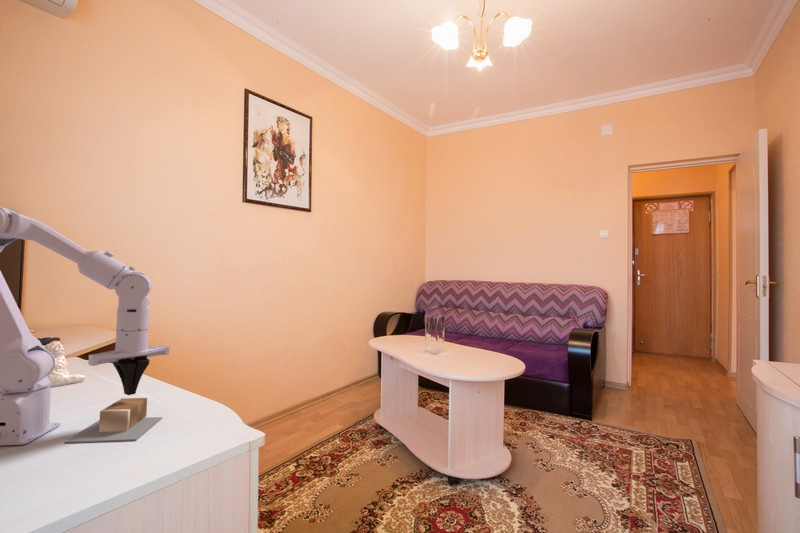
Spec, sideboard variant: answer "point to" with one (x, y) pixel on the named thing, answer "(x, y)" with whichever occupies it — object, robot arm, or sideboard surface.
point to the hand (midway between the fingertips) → (129, 393)
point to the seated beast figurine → (61, 367)
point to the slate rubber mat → (114, 432)
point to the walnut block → (123, 414)
